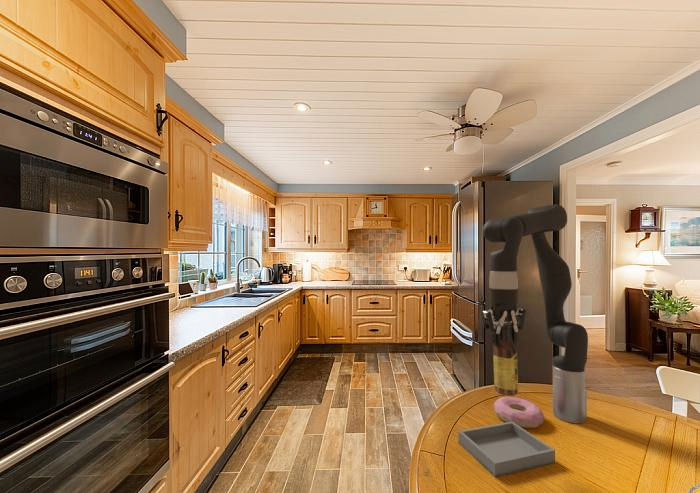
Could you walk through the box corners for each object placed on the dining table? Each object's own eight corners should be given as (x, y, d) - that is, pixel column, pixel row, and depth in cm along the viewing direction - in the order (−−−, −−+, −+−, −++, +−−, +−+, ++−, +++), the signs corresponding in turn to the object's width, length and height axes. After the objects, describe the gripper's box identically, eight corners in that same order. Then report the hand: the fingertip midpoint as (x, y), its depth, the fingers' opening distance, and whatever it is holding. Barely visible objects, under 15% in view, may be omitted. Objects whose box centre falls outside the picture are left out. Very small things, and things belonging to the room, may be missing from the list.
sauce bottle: (521, 398, 85) (520, 326, 86) (497, 396, 87) (496, 325, 87) (513, 387, 92) (512, 320, 92) (491, 386, 93) (490, 320, 93)
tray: (512, 432, 99) (512, 421, 99) (555, 463, 84) (555, 450, 84) (458, 442, 93) (458, 430, 93) (494, 477, 79) (494, 463, 79)
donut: (484, 410, 113) (484, 396, 113) (519, 405, 117) (519, 392, 117) (517, 434, 98) (517, 418, 98) (555, 428, 102) (555, 413, 102)
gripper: (513, 284, 95) (514, 339, 95) (474, 286, 91) (474, 343, 91) (533, 287, 88) (534, 346, 88) (492, 289, 84) (493, 351, 84)
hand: (504, 344), depth 89 cm, fingers closed on sauce bottle, 5 cm apart
